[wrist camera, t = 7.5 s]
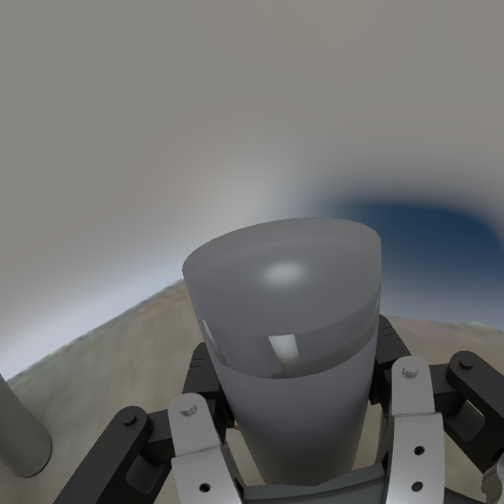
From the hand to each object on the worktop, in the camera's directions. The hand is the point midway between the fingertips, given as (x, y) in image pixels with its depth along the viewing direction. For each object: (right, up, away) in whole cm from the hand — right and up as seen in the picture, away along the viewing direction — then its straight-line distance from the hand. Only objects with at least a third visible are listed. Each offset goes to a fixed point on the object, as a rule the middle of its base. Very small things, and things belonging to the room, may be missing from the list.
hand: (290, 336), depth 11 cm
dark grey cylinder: (+1, -7, 0) cm, 7 cm away
